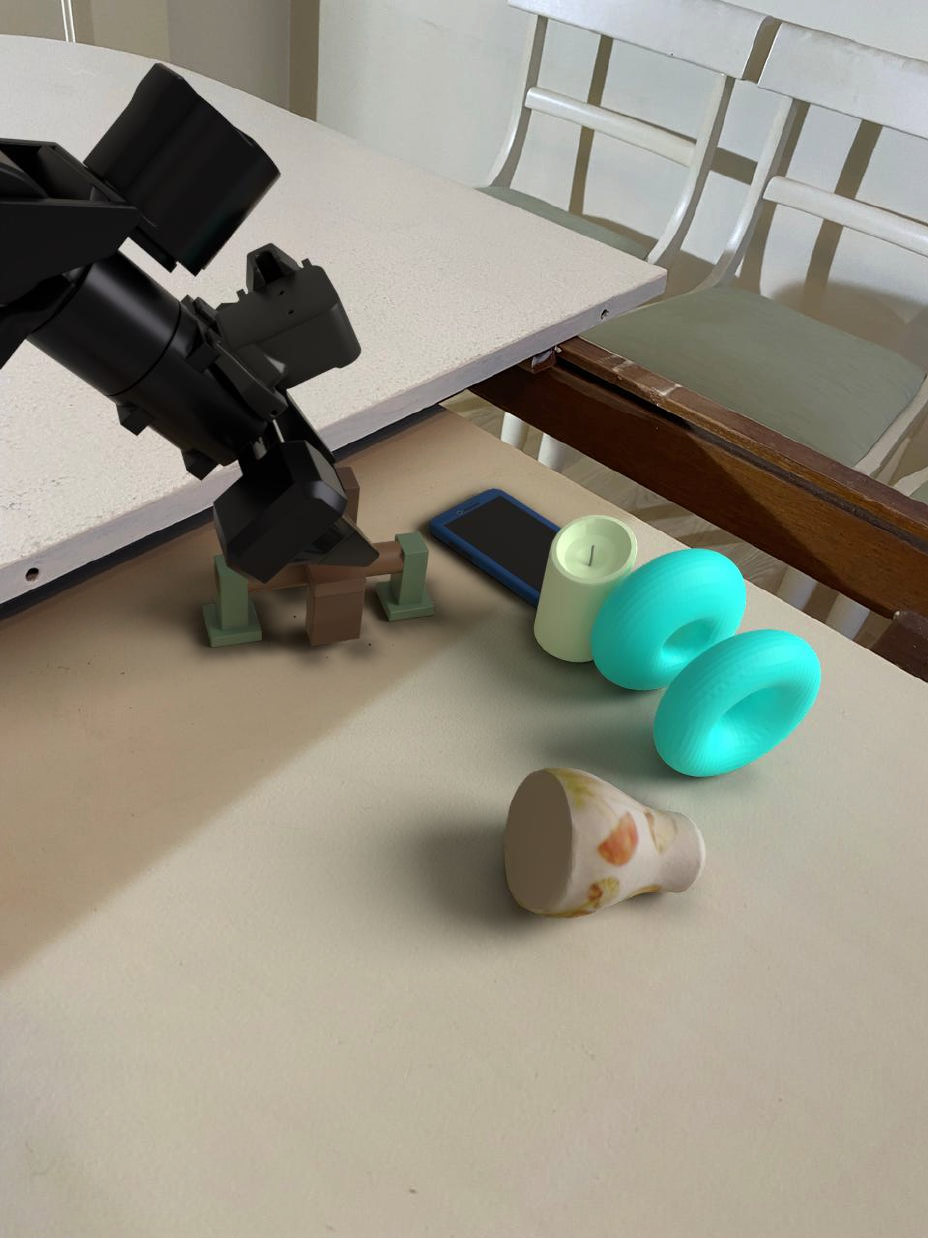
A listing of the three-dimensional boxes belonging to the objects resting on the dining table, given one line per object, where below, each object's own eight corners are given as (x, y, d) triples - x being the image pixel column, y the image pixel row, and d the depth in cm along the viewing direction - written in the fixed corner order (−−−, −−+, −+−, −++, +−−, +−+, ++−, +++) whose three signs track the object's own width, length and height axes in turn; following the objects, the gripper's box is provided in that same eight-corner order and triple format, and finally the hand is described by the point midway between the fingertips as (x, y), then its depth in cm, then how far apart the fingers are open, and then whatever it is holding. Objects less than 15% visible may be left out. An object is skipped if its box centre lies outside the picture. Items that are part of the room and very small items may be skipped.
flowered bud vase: (725, 928, 52) (701, 869, 44) (538, 958, 54) (481, 907, 46) (696, 790, 56) (668, 712, 48) (523, 823, 58) (468, 754, 50)
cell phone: (576, 636, 66) (578, 627, 65) (423, 528, 72) (424, 520, 72) (642, 590, 70) (645, 581, 70) (492, 492, 76) (494, 484, 76)
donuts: (651, 805, 57) (704, 679, 50) (566, 680, 63) (603, 553, 56) (793, 762, 60) (860, 640, 54) (699, 648, 67) (748, 526, 60)
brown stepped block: (360, 639, 62) (373, 516, 55) (311, 646, 61) (319, 522, 54) (329, 560, 67) (339, 438, 60) (283, 566, 66) (288, 442, 59)
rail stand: (211, 648, 61) (209, 584, 58) (202, 614, 63) (199, 550, 60) (433, 615, 66) (443, 554, 62) (418, 585, 68) (427, 524, 64)
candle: (570, 676, 63) (595, 581, 57) (517, 626, 66) (535, 531, 60) (626, 641, 66) (656, 547, 60) (573, 595, 68) (596, 500, 62)
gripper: (308, 321, 40) (518, 517, 51) (220, 149, 53) (404, 337, 64) (117, 504, 43) (355, 653, 54) (76, 299, 55) (277, 454, 66)
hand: (350, 510), depth 60 cm, fingers open, 9 cm apart
